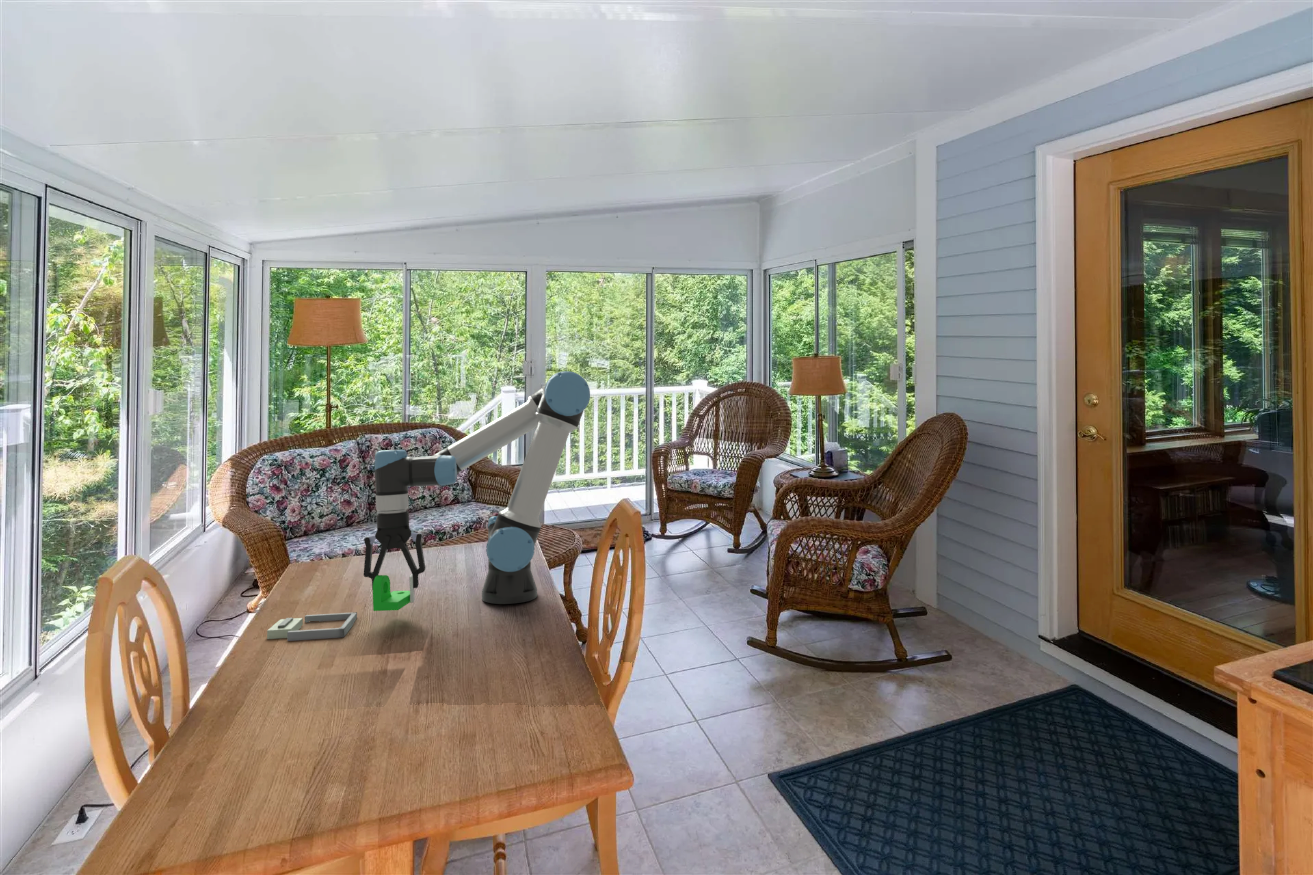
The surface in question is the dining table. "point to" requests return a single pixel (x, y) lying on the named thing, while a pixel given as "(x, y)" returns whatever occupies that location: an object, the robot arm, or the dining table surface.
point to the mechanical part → (387, 595)
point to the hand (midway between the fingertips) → (396, 602)
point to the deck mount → (291, 630)
